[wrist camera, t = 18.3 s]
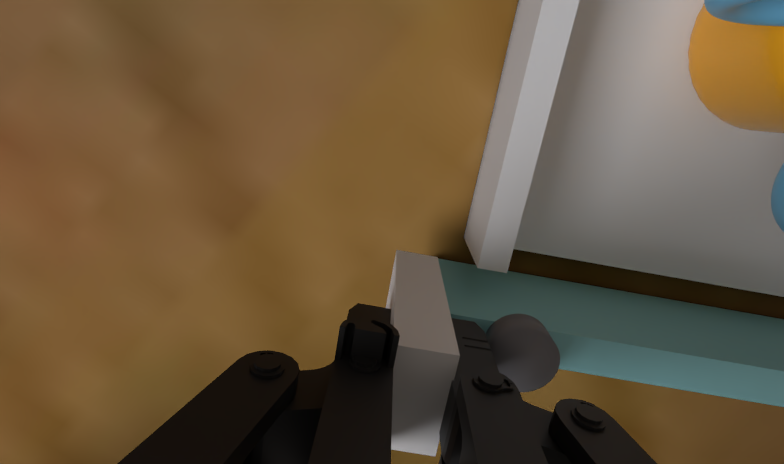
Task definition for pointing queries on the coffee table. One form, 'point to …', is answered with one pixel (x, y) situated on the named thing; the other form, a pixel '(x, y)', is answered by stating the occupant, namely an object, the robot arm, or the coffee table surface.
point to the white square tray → (622, 153)
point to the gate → (617, 335)
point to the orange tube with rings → (742, 69)
